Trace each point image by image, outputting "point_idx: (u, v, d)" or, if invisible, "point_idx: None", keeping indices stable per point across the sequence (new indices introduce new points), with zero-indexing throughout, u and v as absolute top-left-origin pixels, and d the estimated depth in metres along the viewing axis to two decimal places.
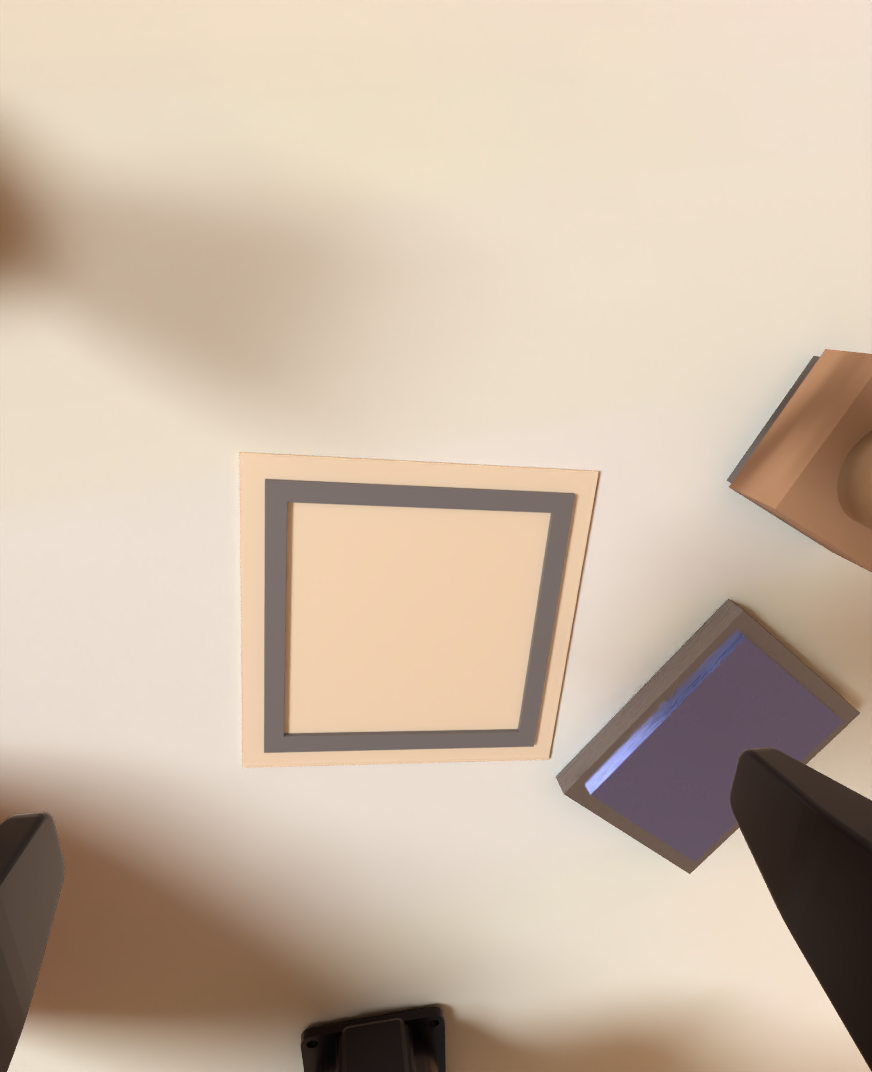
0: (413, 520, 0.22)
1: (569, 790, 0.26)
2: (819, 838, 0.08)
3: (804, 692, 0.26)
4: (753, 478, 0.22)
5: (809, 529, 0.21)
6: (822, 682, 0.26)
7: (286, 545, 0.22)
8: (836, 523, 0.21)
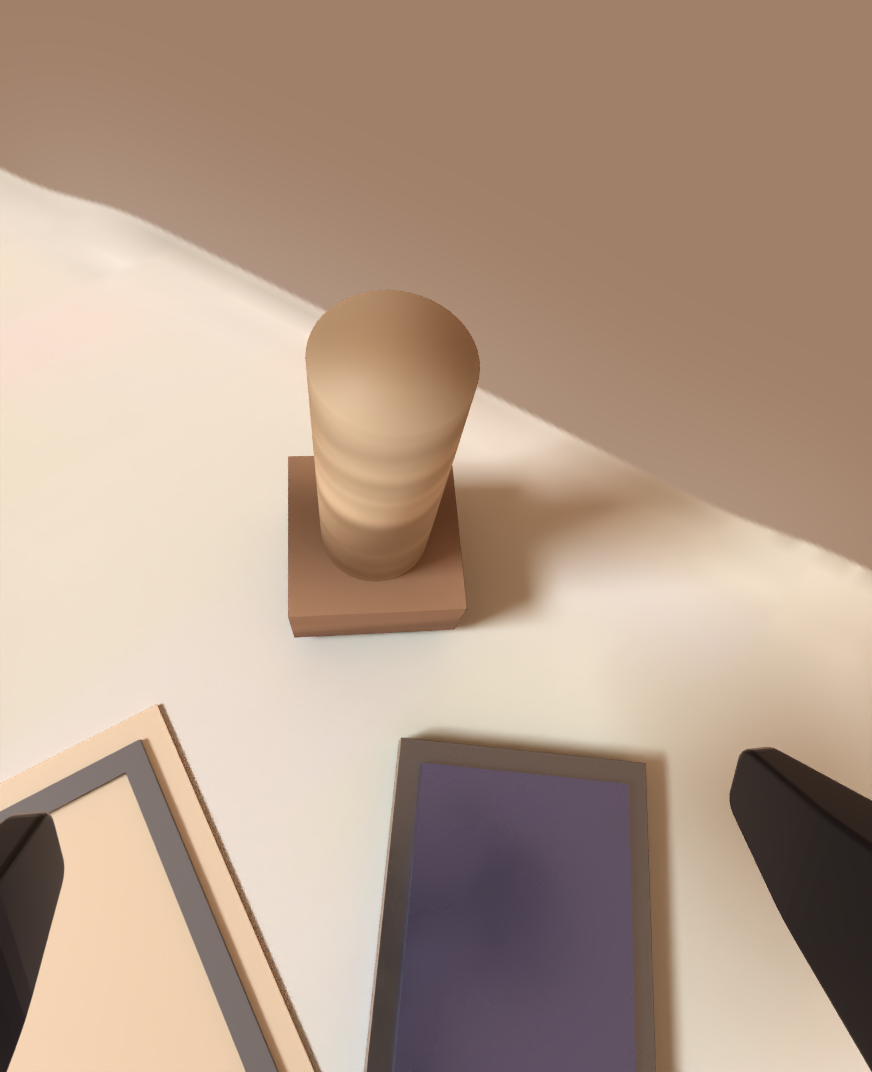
0: None
1: None
2: (819, 838, 0.08)
3: (549, 779, 0.21)
4: None
5: (341, 613, 0.20)
6: (565, 757, 0.21)
7: None
8: (365, 593, 0.20)
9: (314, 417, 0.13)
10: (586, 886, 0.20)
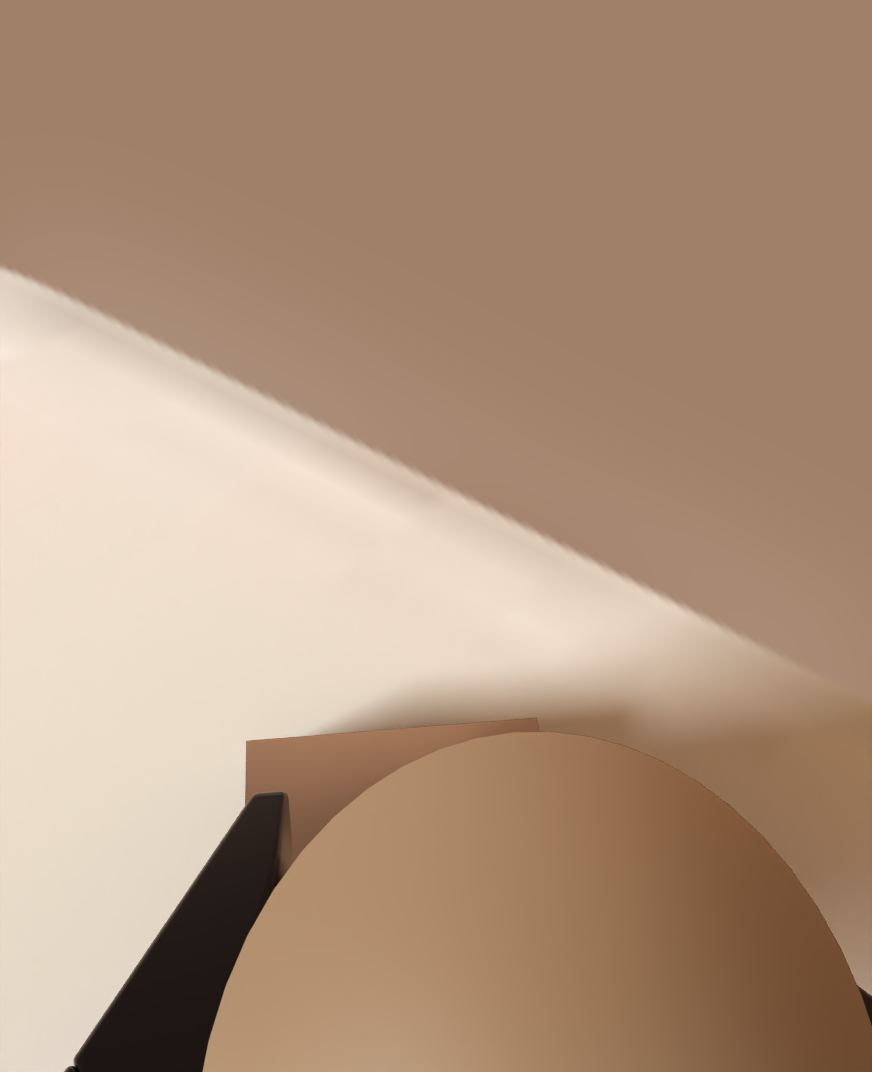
0: None
1: None
2: None
3: None
4: None
5: None
6: None
7: None
8: None
9: None
10: None
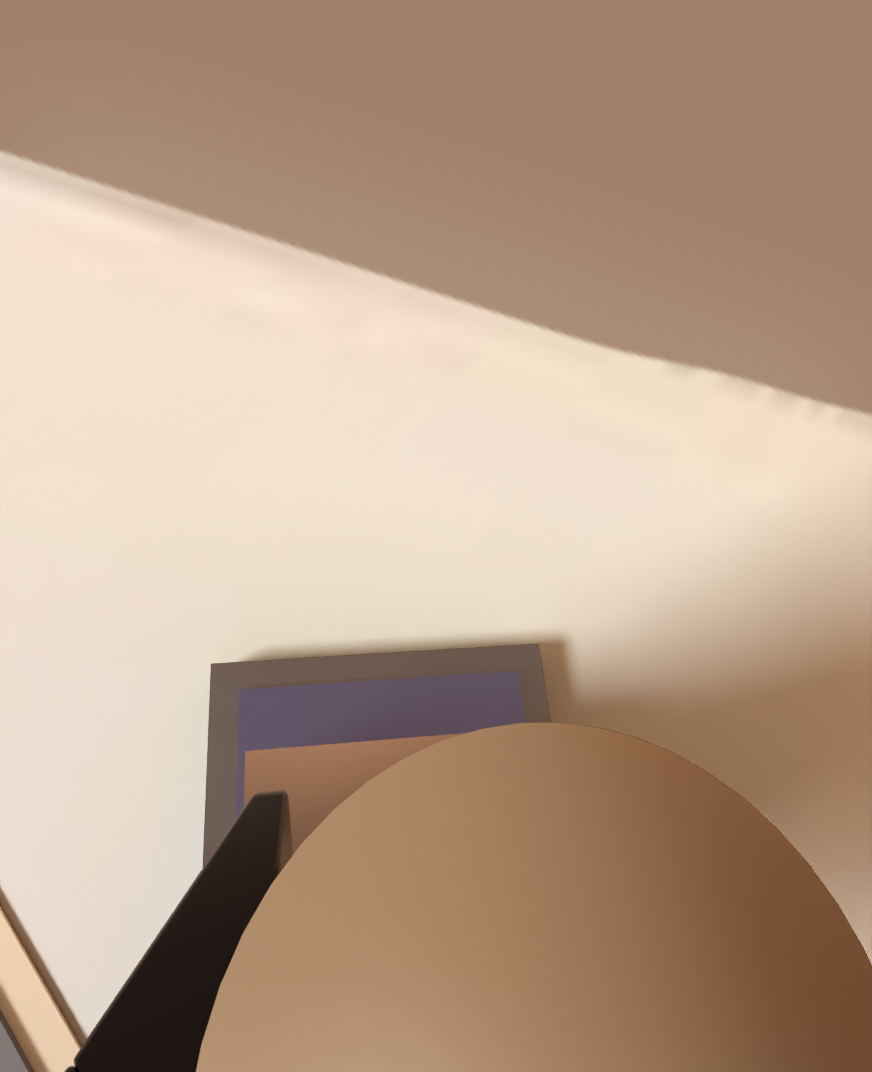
0: None
1: None
2: None
3: (413, 682, 0.16)
4: None
5: None
6: (434, 653, 0.16)
7: None
8: None
9: None
10: None
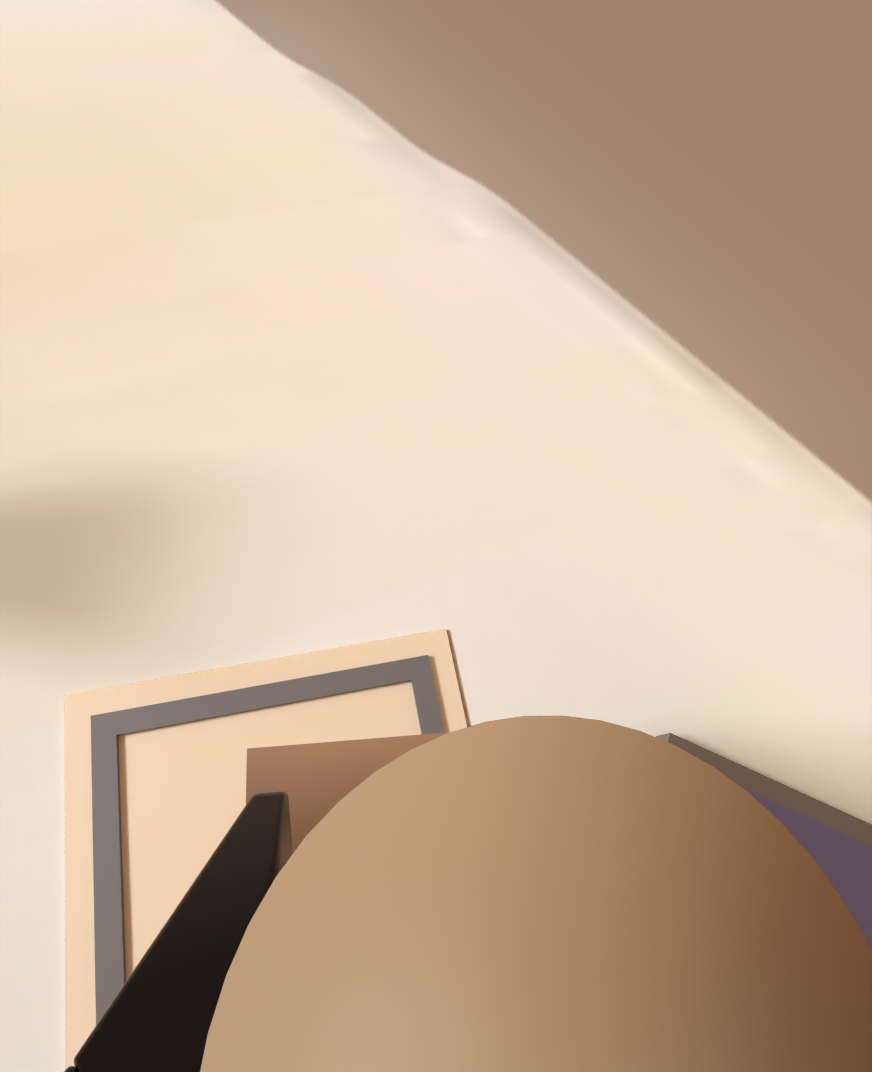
0: (263, 727, 0.20)
1: None
2: None
3: (810, 822, 0.20)
4: None
5: None
6: (826, 806, 0.21)
7: (119, 789, 0.19)
8: None
9: None
10: None
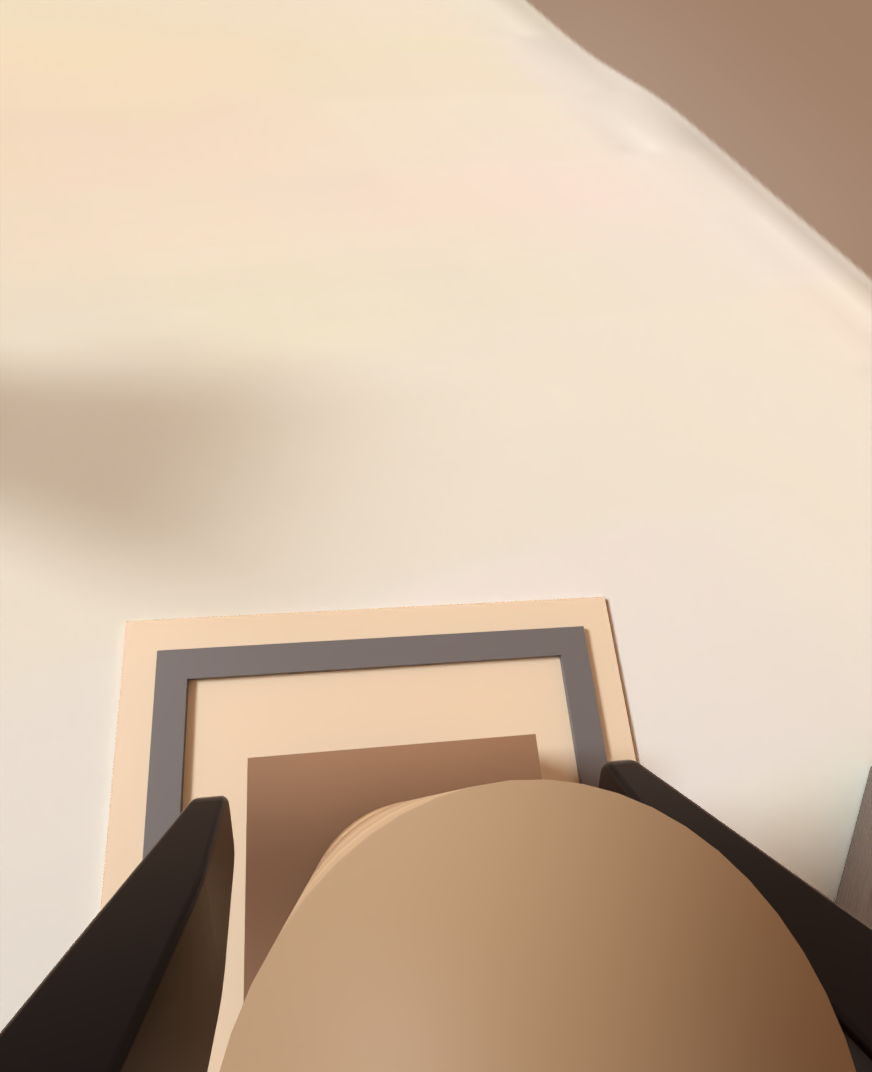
0: (370, 692, 0.16)
1: None
2: None
3: None
4: None
5: None
6: None
7: (185, 749, 0.15)
8: None
9: None
10: None
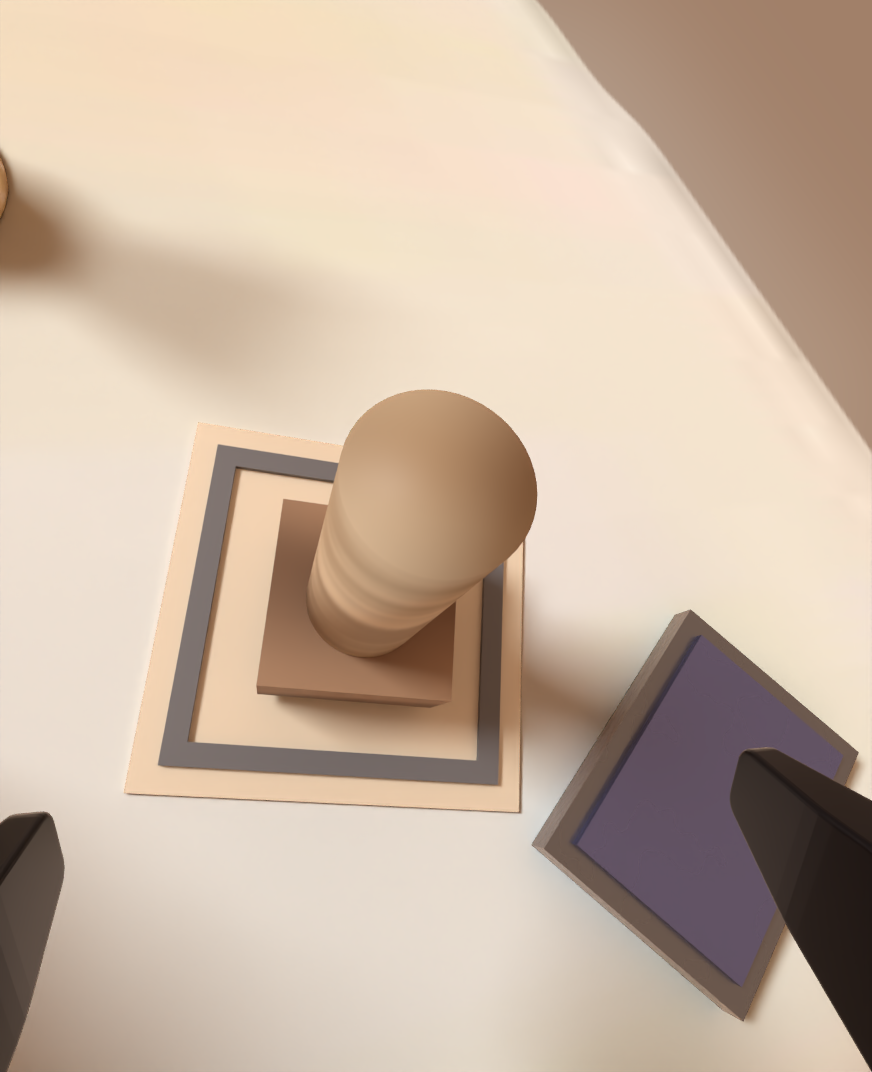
0: None
1: (550, 843, 0.20)
2: (819, 838, 0.08)
3: (786, 710, 0.24)
4: None
5: (315, 689, 0.18)
6: (801, 705, 0.24)
7: (228, 509, 0.22)
8: (344, 669, 0.18)
9: (335, 524, 0.11)
10: None
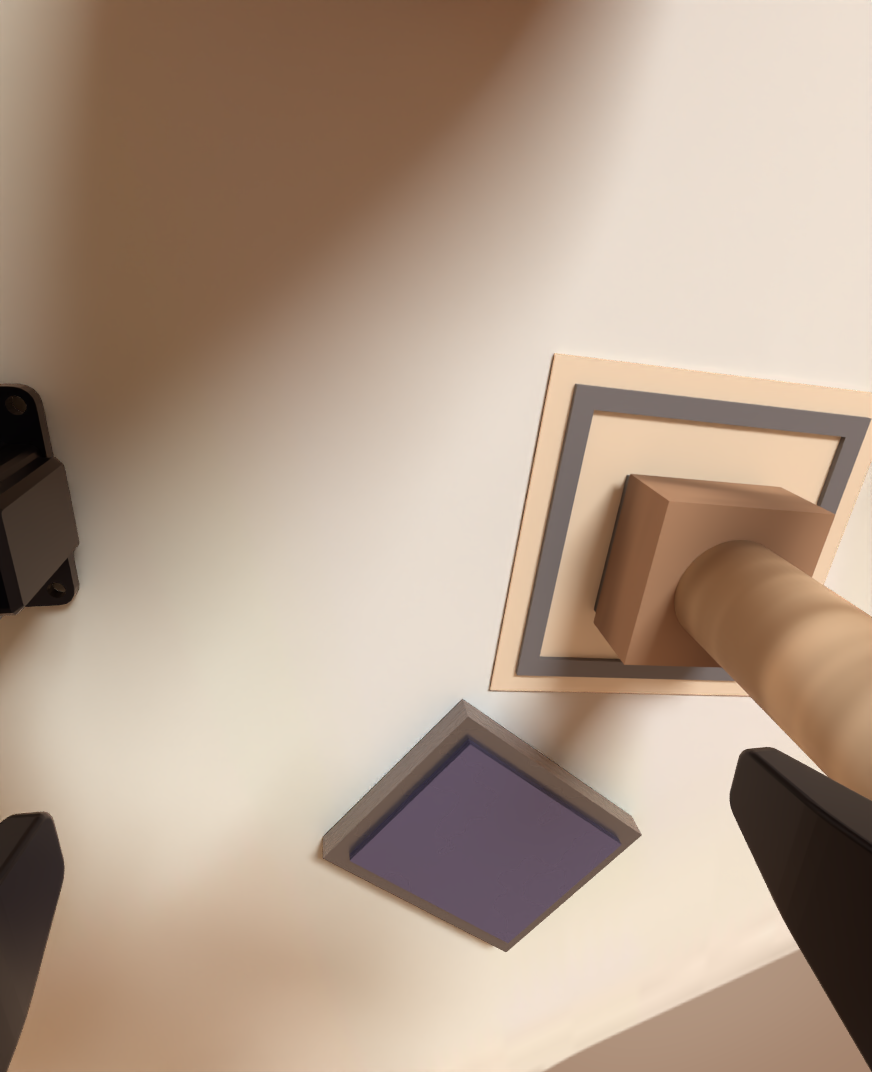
0: None
1: (471, 721, 0.23)
2: (819, 838, 0.08)
3: (549, 904, 0.27)
4: (659, 483, 0.20)
5: (656, 551, 0.19)
6: (548, 913, 0.28)
7: (802, 431, 0.22)
8: (668, 575, 0.19)
9: None
10: (480, 895, 0.26)
